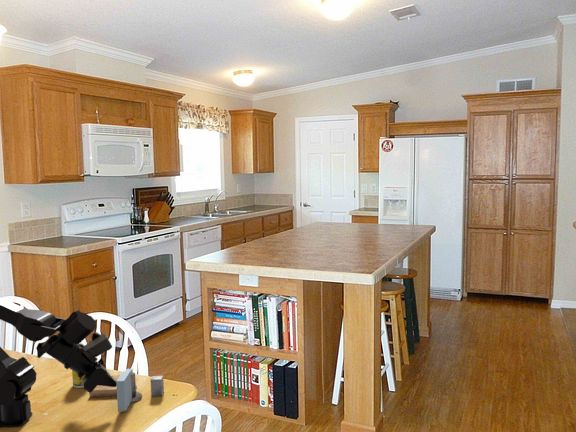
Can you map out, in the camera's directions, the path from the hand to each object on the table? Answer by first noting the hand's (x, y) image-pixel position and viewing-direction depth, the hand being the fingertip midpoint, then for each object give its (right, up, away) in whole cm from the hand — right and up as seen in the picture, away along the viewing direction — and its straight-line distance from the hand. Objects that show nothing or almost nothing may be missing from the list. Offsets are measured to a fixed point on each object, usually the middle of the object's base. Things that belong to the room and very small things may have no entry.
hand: (116, 385), depth 134 cm
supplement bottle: (-16, -6, +17) cm, 24 cm away
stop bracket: (+9, -6, +9) cm, 14 cm away
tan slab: (-3, -6, +11) cm, 13 cm away
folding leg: (+2, -6, +2) cm, 6 cm away
